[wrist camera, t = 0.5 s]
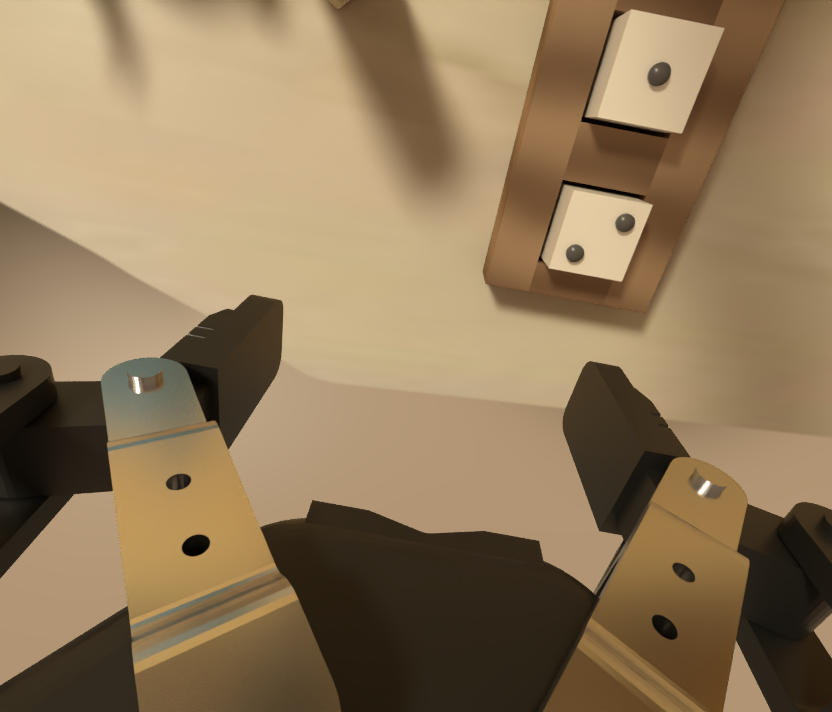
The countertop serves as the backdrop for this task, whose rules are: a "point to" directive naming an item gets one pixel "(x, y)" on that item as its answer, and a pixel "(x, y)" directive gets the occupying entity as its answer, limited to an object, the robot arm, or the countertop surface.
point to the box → (338, 3)
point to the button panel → (615, 145)
